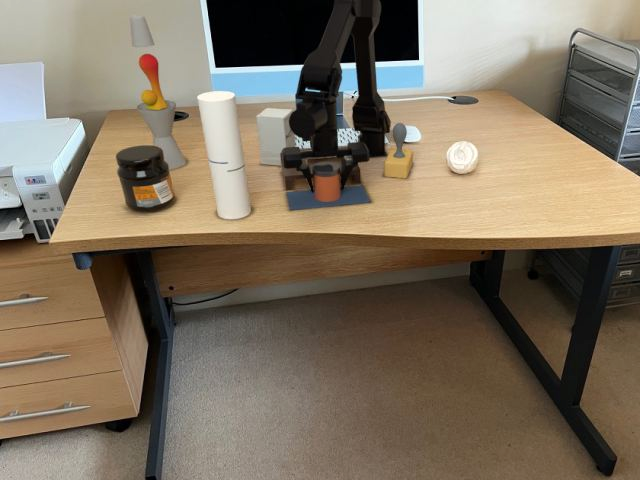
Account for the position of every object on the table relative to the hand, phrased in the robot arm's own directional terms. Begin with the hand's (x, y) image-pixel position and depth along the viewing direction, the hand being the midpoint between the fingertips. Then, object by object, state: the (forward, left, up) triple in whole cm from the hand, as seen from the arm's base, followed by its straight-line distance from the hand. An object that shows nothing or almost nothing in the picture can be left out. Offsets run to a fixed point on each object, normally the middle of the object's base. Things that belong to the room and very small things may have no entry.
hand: (327, 190), depth 131 cm
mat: (0, 0, -2) cm, 2 cm away
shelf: (0, -12, -2) cm, 12 cm away
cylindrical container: (+21, +3, -2) cm, 21 cm away
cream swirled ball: (-35, -7, -2) cm, 36 cm away
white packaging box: (+9, -25, -2) cm, 27 cm away
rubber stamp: (-20, -12, -2) cm, 24 cm away
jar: (0, 0, -1) cm, 1 cm away
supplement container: (+39, -5, -2) cm, 39 cm away
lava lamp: (+37, -29, -2) cm, 47 cm away
